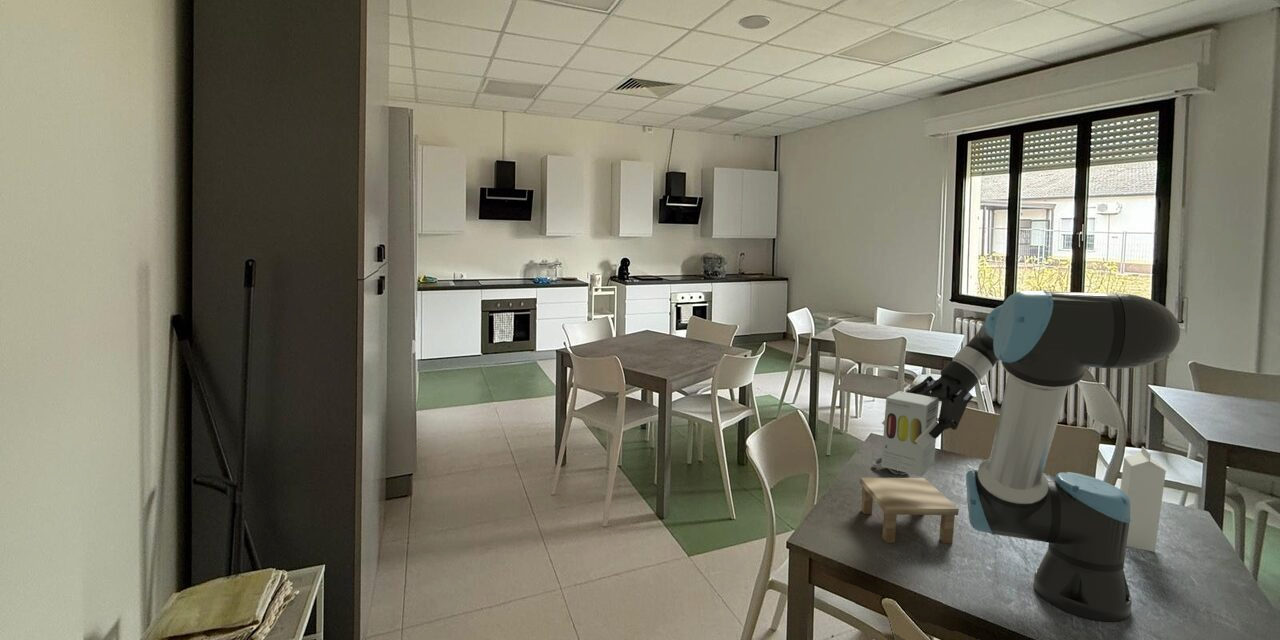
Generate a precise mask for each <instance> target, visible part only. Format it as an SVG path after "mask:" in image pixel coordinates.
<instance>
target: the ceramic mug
mask: <svg viewBox="0 0 1280 640" xmlns="http://www.w3.org/2000/svg"><path fill="white" fill-rule="evenodd" d="M881 461H882V456H881V457H879V458H877V459H874V460H873V461H872V466H873V467H874V469H875V468H876V469H875V470H884V469H888V470H889V471H890V472H891V473H892V474H894V475H897V474H901V475H900V476H902V475H903V476H904V475H907V474H908V473H906V472H902V471H897V470H894V469H890V468H887V467H883V466H881Z"/></svg>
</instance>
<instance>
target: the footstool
mask: <svg viewBox="0 0 1280 640" xmlns="http://www.w3.org/2000/svg"><path fill="white" fill-rule="evenodd" d="M859 484H860V486H862V487H861V488H862V490H861V505H860V506H861V507H860V511H861V512H862V514H864V515H872V514H873V503H874V501H875V504H877V505H878V507H880V508H881V510H882V511H883V520H882V521H883V524H882V540H883V541H884V542H885V543H886V544H889V543H890V544H891V543H893V544H894V543H895V542H896V530H897V529H896V528H897V516H899V515H901V516H902V515H904V516H906V515H907V516H916V515H917V516H940V524H939V525H940V527H939V536H938V537H939V540H940V541H941V543H943V544H953V542H954V530H955V529H954V528H955V516H959V510H960V509H959V508H958V507H957V506H956V505H955V504H954V503H953V502H952V501H950V499H948V498H947V497H946V496H945V495H944V494H943V493H942V492H941V491H939V490H938V489H937V488H936V487H935V486H934V485H932V484H931V483H930V482H929V481H928V480H927V479H926V478H925V477H860V478H859ZM873 500H874V501H873Z"/></svg>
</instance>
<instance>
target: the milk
mask: <svg viewBox="0 0 1280 640" xmlns="http://www.w3.org/2000/svg"><path fill="white" fill-rule="evenodd" d="M1166 473H1167V470H1165V468H1164V467H1163V466H1162V465H1161V464H1160V463H1159V462H1158V461H1157V460H1155V459H1153V458H1152V457H1151V453H1150V451H1148V450H1147V449H1146V448H1145V447H1144V446H1141V449H1140V452H1137V453H1134V454H1131V455H1126V456H1124V458H1123V465H1122V473H1121V480H1120V488H1119V489H1120V490H1121V491H1123V492H1124V493H1125V494H1126V495H1127V496H1128V498H1129V499H1130V503H1131V508H1130V517H1131V522H1130V523H1129V530H1128V537H1127V545H1126V548H1131V549H1138V550H1143V551H1148V552H1154V553H1155V552H1156V547H1157V540H1158V539H1157V538H1158V533H1159V532H1158V531H1159V524H1160V517H1161V510H1162V503H1163V494H1164V487H1165V480H1166V479H1165V478H1166Z"/></svg>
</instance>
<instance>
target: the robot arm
mask: <svg viewBox="0 0 1280 640" xmlns="http://www.w3.org/2000/svg"><path fill="white" fill-rule="evenodd" d="M1180 336H1181V329H1180V324H1179V322H1178V319H1177V318H1176V316H1175V315H1174V313H1173V312H1172V311H1170V310H1169V309H1168V308H1167V307H1166V306H1165V305H1163V304H1161V303H1160V302H1157V301H1154V300H1152V299H1151V298H1150V299H1149V298H1147V297H1144V296H1140V295H1136V294H1128V293H1119V292H1117V293H1116V292H1113V293H1111V292H1110V293H1109V292H1108V293H1107V292H1078V291H1077V292H1071V291H1049V290H1046V289H1038V290H1031V291H1029V290H1028V291H1027V290H1025V291H1023V290H1021V291H1020V290H1019V291H1016V292H1014V293H1013V294H1011V295H1009V296H1008V297H1007V298H1006V299H1005V300H1004V302H1003V304H1001V305H999V306H997V307H995V308H993V309H992V310H991V311H990V312H989V313H988V314H987V316H986V317H985V319H984V321H983V323H982V326H981V327H980V328H979V330H978V332H977V333H976V334H975V335H974V336H973V337H972V338H971V339H970V340H969V341H968V343H966V344H965V346H963V347H962V348H961V349H960V350H959V351H958V352H957V353H956V354H955V355H954V356H953V357H952V359H951V360H950V361H948V363H946V364H945V366H943V368H942V369H941V370H940V377H939V378H938V379H934V378H933V376H931V375H929V376H927V377H926V378H925V379H924V380H923V381H921V382H920V383H918V384H916V385H915V386H913V387H911V388H909V389H908V390H906V392H907V393H913V394H919V395H924V396H930V397H937V398H939V402H941V404H940V410H939V413H938V418H937V421H935V420H934V421H933V422H932V423H931V424H930V425H929V426H928V427H927V428H926V429H925V430H924V432H923V433H922V434H921V435H920V436H919V437H918V438H917V439H916V440H915V442H916V443H917V444H918V445H919V446H920V448H921V449H923V450H924V449H925V448H926V447H927V446H928V445H929V444H930V443H931V442H932V441H933V440H934V439H935V438H936V439H937V438H938V437H940V435H941V434H943V432H944V431H945V430H948V429H951V430H952V431H954V430H957V428H958V427H959V425H960V423H961V420H962V418H963V415H964V413H965V410H966V409H967V406H968V404H969V403H970V402H971V401H972V399H973V398H974V397H973V395H972V393H971V392H970V391H972V390H973V388H974V387H976V385H977V384H978V383H979V382H978V381H980V380H982V379H983V378H984V377H985V375H987V373H988V372H989V371H990V370H991V369H992V368H994V367H995V365H996V364H997V363H998V362H999V361H1001V363H1000V364H1001V365H1002V368H1003V369H1004V370H1005V372H1006V373H1007V379H1006V384H1005V389H1004V393H1003V397H1002V403H1001V405H1000V406H1001V407H1000V409H999V416H998V420H997V423H996V424H997V425H996V427H995V428H996V429H995V433H994V438H993V442H992V446H991V452H990V456H989V457H988V458H986V459H985V460H983V461H982V462H981V463H980V464H979V466H978V468H977V469H976V470H975V469H972V470H968V471H967V472H966V474H965V475H966V476H965V484H966V485H965V486H966V487H965V488H966V500H967V511H968V518H969V523H970V525H971V527H972V528H973V529H974V530H975V531H977V532H982V533H986V534H990V535H992V536H993V535H994V536H1002V537H1009V538H1010V537H1011V538H1014V539H1015V538H1017V539H1023V540H1029V541H1034V542H1035V541H1036V542H1042V543H1047V544H1048V546H1047V547H1048V548H1047V551H1046V552H1045V554H1044V556H1043V558H1042V559H1041V562H1040V564H1039V566H1038V567H1037V568H1036V569H1035V571H1034V574H1033V588H1034V589H1035V592H1036V593H1038V595H1039V596H1041V598H1043V599H1044V600H1045V601H1047V602H1048V603H1050V604H1051V605H1053V606H1054V607H1057V608H1058V609H1061V610H1062V611H1065V612H1067V613H1069V614H1073V615H1076V616H1078V617H1082V618H1085V619H1089V620H1094V621H1095V620H1096V621H1102V622H1119V621H1123V620H1125V619H1128V617H1130V615H1131V611H1132V603H1133V602H1132V596H1131V594H1130V590H1129V586H1128V583H1127V579H1126V575H1125V572H1124V567H1125V560H1126V559H1125V558H1126V554H1127V553H1126V552H1127V547H1126V545H1127V537H1128V530H1129V523H1130V522H1131V517H1130V508H1131V503H1130V499H1129V498H1128V496H1127V495H1126V494H1125V493H1124V492H1123V491H1121V490H1120V488H1118V487H1117V486H1115V485H1112V484H1111V483H1109V482H1106V481H1105V480H1102V479H1099V478H1096V477H1094V476H1090V475H1086V474H1082V473H1077V472H1071V471H1065V472H1058V473H1057V474H1055V476H1054V478H1053V479H1054V480H1048V479H1047V477H1046V476H1045V475H1044V471H1045V466H1046V463H1047V460H1048V457H1049V453H1050V450H1051V446H1052V442H1053V440H1054V436H1055V433H1056V429H1057V426H1058V423H1059V420H1060V415H1061V412H1062V409H1063V406H1064V402H1065V399H1066V396H1067V395H1066V394H1067V392H1068V388H1070V387H1072V386H1074V385H1077V384H1078V383H1080V382H1081V380H1082V379H1083V377H1084V375H1085V372H1086V368H1100V369H1101V368H1102V369H1115V370H1116V369H1122V370H1123V369H1133V368H1140V367H1146V366H1150V365H1153V364H1156V363H1157V362H1160V361H1161V360H1163V359H1165V358H1166V357H1168V356H1169V355H1170V354H1171V353H1172V352H1174V350H1175V349H1176V347H1177V346H1178V344H1179V341H1180V338H1181V337H1180ZM884 422H885V419H884V420H883V421H882V422H881V424H882V425H883V426H884Z"/></svg>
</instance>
